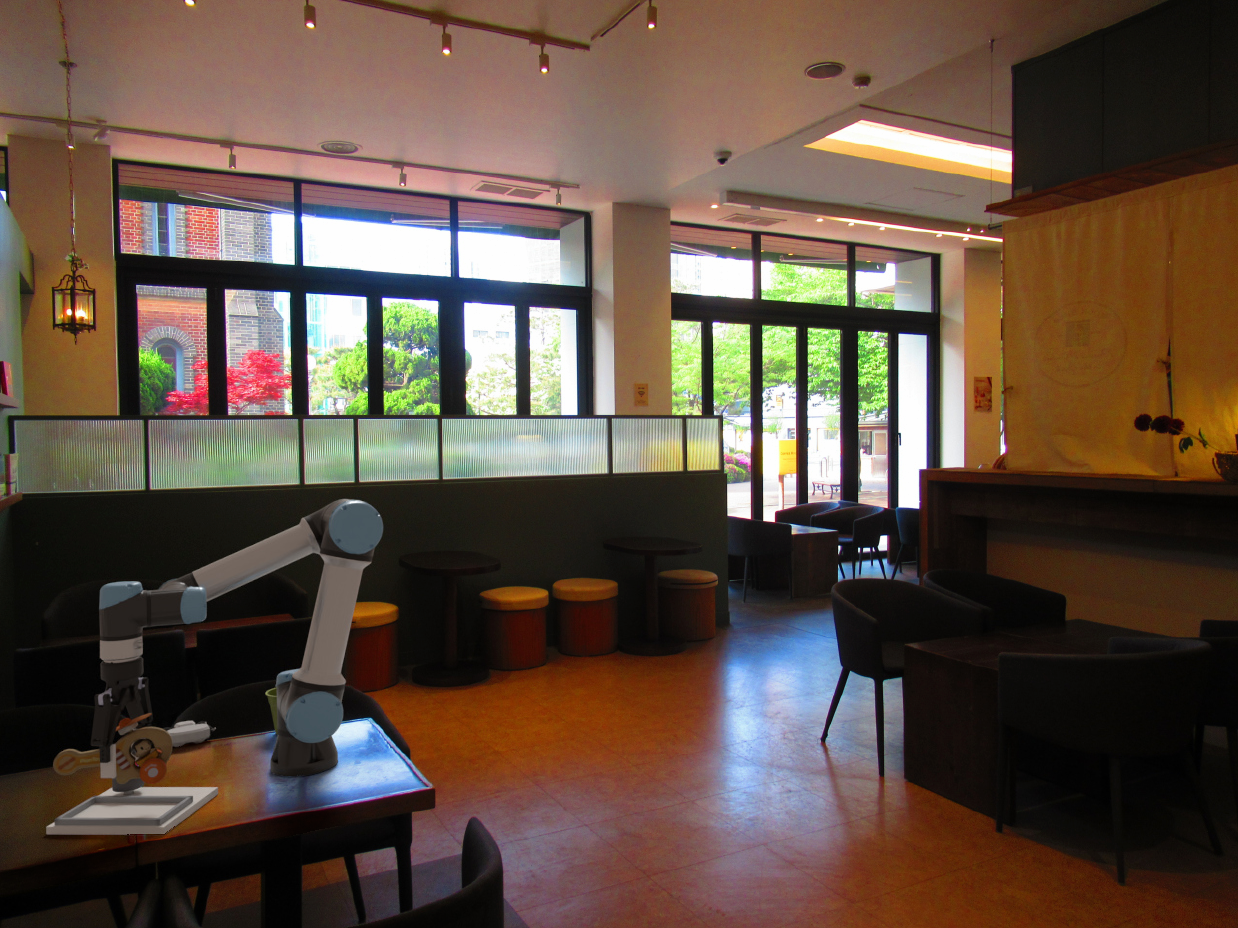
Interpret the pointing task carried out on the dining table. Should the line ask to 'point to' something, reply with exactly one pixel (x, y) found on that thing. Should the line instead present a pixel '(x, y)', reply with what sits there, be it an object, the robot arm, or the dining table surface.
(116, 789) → the wheel
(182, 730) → the robot toy
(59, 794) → the dining table surface
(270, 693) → the plant pot
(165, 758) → the toy helicopter
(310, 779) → the dining table surface
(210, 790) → the board
